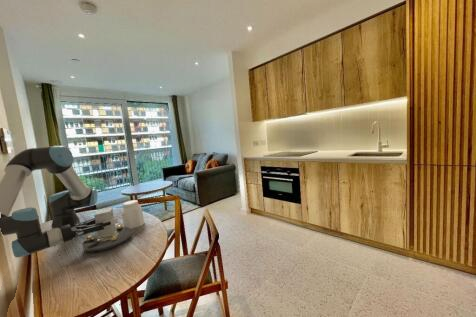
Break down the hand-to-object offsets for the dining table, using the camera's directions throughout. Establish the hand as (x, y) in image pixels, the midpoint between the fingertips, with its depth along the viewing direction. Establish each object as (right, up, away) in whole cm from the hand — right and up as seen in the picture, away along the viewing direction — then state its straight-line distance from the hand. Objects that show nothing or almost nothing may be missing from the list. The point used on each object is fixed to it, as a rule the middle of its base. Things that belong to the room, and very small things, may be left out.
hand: (114, 218), depth 113 cm
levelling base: (-2, -13, -2) cm, 13 cm away
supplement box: (-2, -8, -2) cm, 9 cm away
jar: (+1, -10, +18) cm, 21 cm away
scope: (-31, -14, +10) cm, 36 cm away
